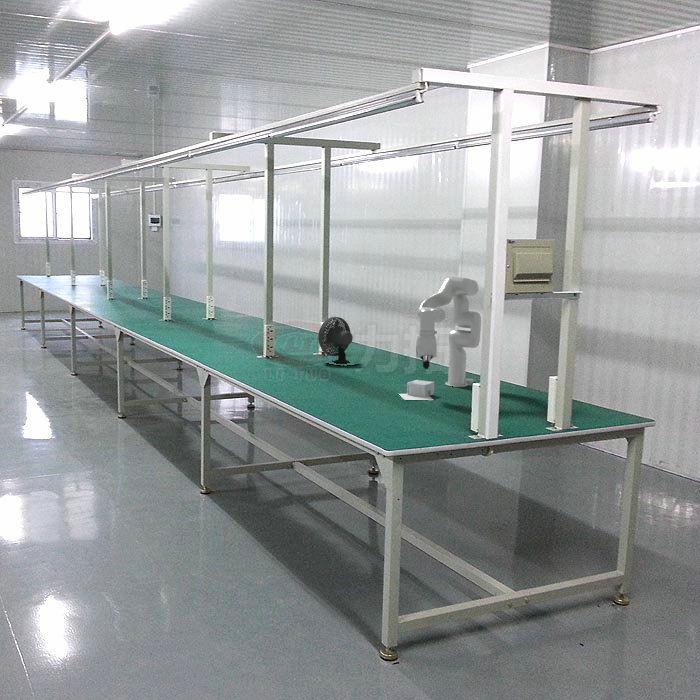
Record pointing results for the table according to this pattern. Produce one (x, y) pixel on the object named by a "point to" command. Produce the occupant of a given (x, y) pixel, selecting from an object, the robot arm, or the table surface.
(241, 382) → the table surface
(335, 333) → the fan
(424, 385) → the light bulb box
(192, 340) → the table surface
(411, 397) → the mat
